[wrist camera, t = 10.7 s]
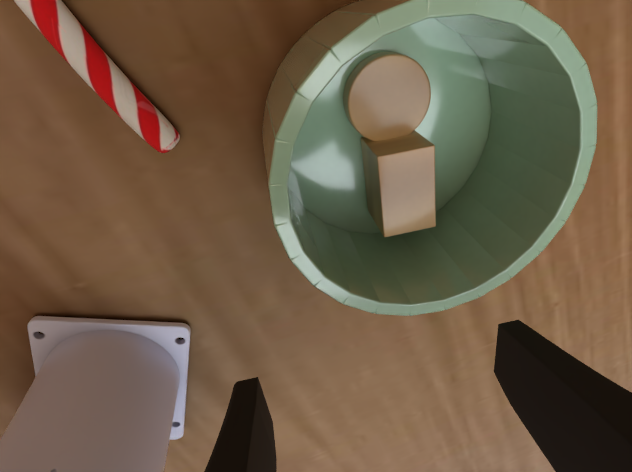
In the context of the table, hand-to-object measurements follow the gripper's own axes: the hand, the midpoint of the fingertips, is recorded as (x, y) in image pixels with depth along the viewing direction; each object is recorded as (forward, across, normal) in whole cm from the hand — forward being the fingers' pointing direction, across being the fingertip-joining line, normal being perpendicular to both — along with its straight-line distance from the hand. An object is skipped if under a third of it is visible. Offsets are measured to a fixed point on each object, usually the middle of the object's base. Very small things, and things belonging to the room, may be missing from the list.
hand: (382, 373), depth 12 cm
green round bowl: (+10, -3, -4) cm, 12 cm away
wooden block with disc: (+10, -3, -4) cm, 11 cm away
